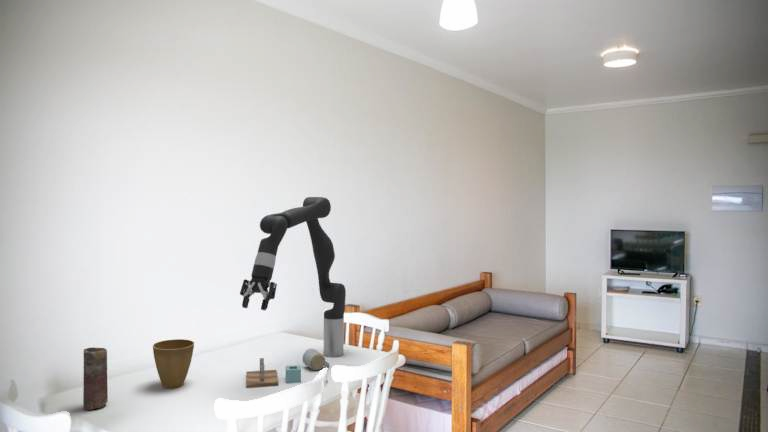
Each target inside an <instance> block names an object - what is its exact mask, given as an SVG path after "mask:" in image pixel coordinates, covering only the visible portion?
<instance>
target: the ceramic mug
mask: <svg viewBox="0 0 768 432" xmlns="http://www.w3.org/2000/svg"><path fill="white" fill-rule="evenodd" d="M302 362H303V364H304V365H305V366H307V367H308V368H310V369H311V370H314V371H319V370H321V369H323V368H324V367H326V368H329V366H330V363H329V361H326V358H325V355H324V354H322V353H321V352H319V351H318V350H317V349H315V348H309V349H306V350H305V351H304V353H303V355H302Z"/></svg>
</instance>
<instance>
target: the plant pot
mask: <svg viewBox="0 0 768 432" xmlns="http://www.w3.org/2000/svg"><path fill="white" fill-rule="evenodd" d="M194 346H195V341H193V340H191V339H190V340H189V339H182V338H178V339H177V338H176V339H167V340H165V339H164V340H162V341H161V340H160V341H158V342H155V343H153V344H152V351H153V358H154V363H155V367H156V368H155V369H156V371H157V374H158V377H159V379H160V383H161V385H162V387H163V388H165V387H166V389H176V388H175V387H177V388H180V387H183V385H185V384H184V383H185V381H186V378H187V375H188V374H189V369H190V366H191V364H192V359H193V353H194ZM179 386H180V387H179Z"/></svg>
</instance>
